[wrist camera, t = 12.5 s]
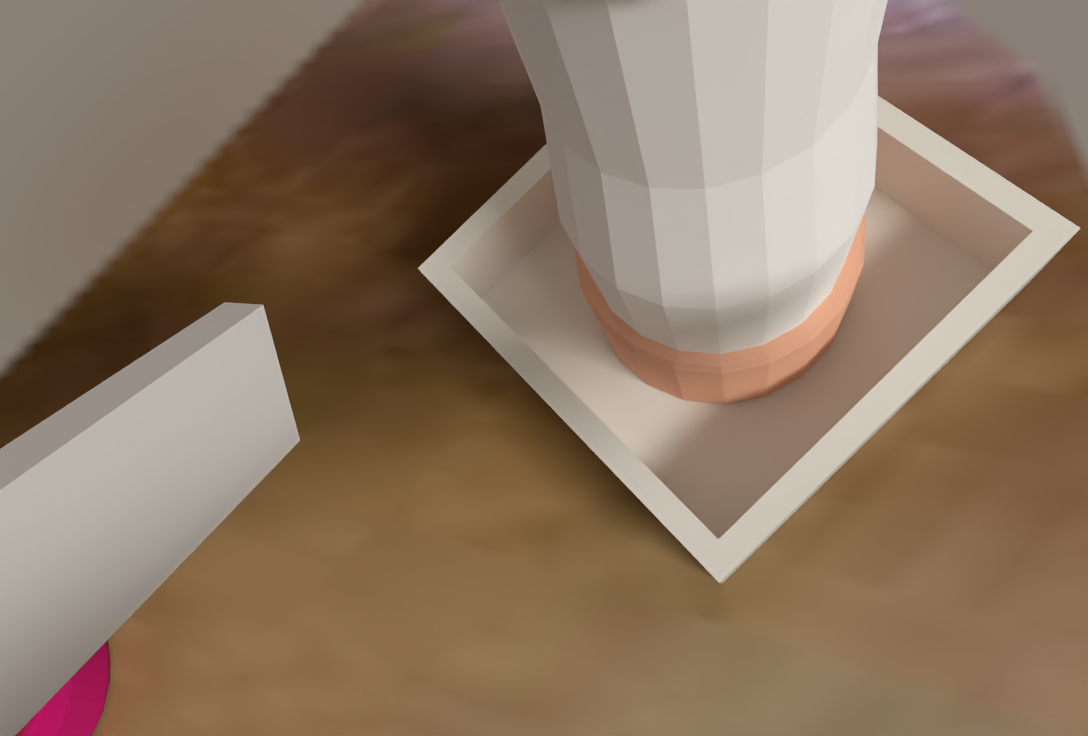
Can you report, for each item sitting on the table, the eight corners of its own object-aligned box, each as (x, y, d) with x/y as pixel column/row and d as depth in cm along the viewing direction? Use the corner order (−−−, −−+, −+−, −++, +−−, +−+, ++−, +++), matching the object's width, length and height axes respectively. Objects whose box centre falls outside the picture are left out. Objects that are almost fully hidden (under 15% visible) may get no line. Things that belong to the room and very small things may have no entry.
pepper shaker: (815, 434, 20) (1303, -611, 3) (567, 370, 23) (-80, -420, 5) (875, 196, 22) (1460, -1550, 4) (635, 158, 24) (326, -1055, 6)
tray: (459, 309, 25) (417, 268, 22) (713, 63, 25) (709, -15, 22) (722, 582, 21) (719, 582, 18) (1027, 283, 21) (1080, 228, 18)
